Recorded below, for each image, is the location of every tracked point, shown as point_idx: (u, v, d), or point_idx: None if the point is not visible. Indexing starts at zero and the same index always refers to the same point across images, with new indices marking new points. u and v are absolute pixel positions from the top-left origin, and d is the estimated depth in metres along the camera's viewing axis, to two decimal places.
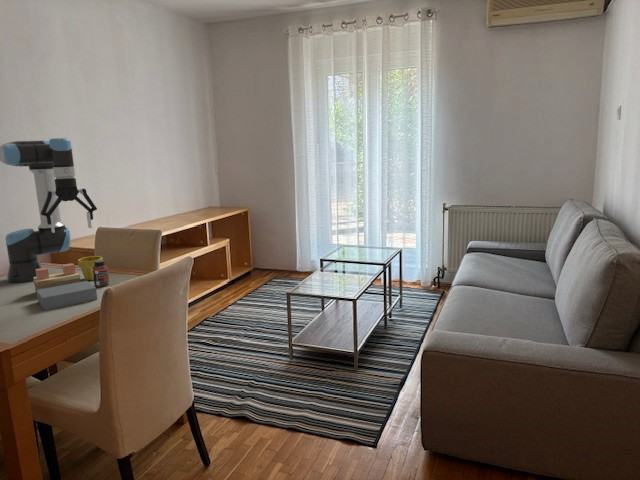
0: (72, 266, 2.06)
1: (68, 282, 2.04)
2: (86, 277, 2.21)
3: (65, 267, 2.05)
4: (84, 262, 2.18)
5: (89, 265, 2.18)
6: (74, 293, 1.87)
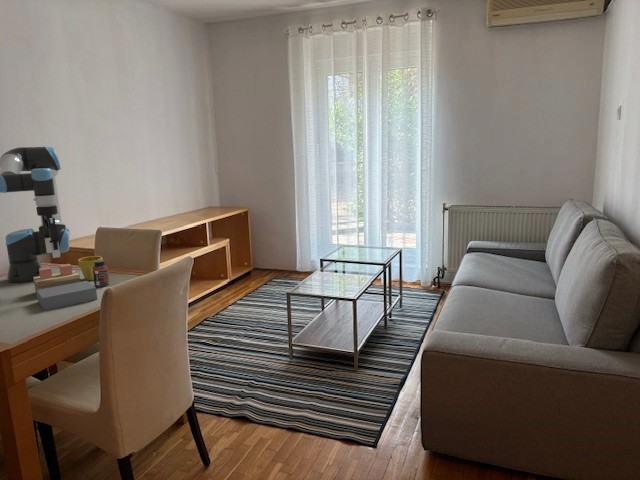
0: (69, 266, 2.06)
1: (68, 282, 2.04)
2: (86, 277, 2.21)
3: (62, 267, 2.04)
4: (84, 262, 2.18)
5: (89, 265, 2.18)
6: (74, 293, 1.87)
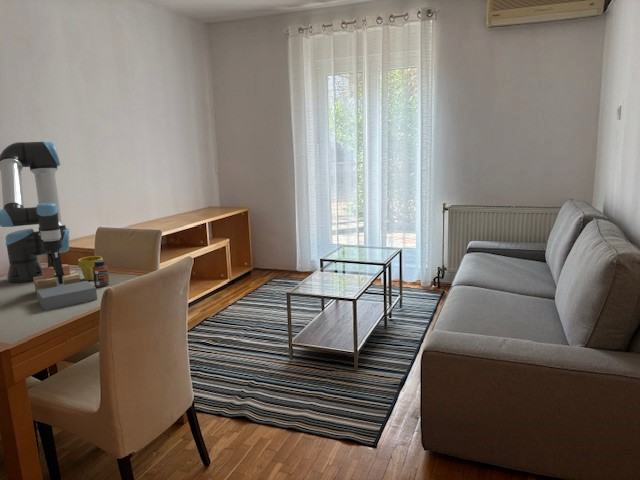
0: (67, 267, 2.05)
1: (68, 282, 2.04)
2: (86, 277, 2.21)
3: None
4: (84, 262, 2.18)
5: (89, 265, 2.18)
6: (74, 293, 1.87)
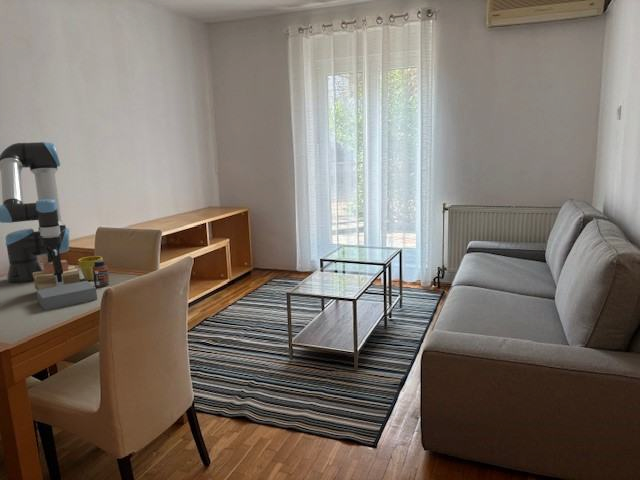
0: (65, 262, 2.05)
1: (67, 278, 2.03)
2: (86, 277, 2.21)
3: None
4: (84, 262, 2.18)
5: (89, 265, 2.18)
6: (74, 293, 1.87)
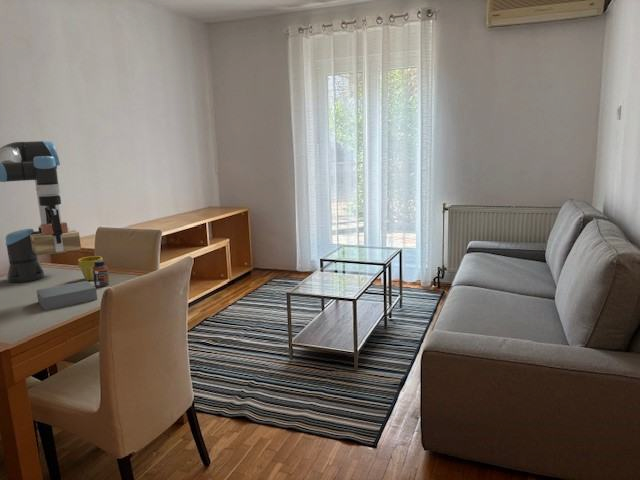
0: (65, 224, 1.93)
1: (67, 240, 1.91)
2: (86, 277, 2.21)
3: None
4: (84, 262, 2.18)
5: (89, 265, 2.18)
6: (74, 293, 1.87)
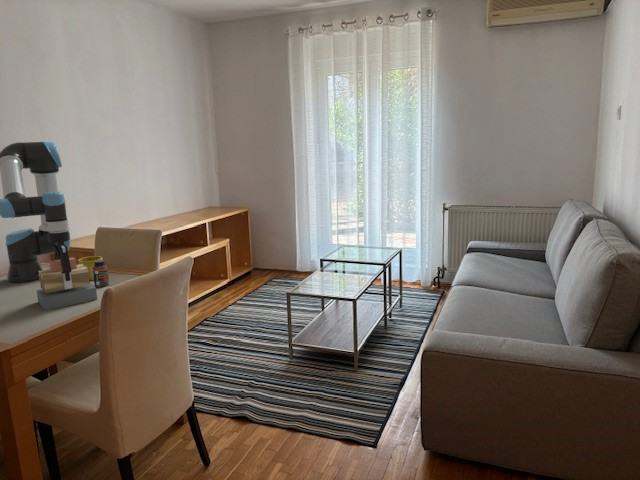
0: (74, 260, 1.90)
1: (76, 277, 1.89)
2: None
3: None
4: (84, 262, 2.18)
5: (89, 265, 2.18)
6: (74, 293, 1.87)
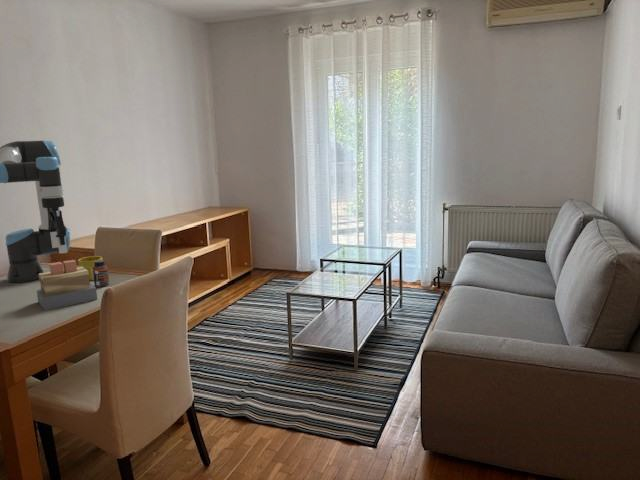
0: (74, 262, 1.90)
1: (76, 279, 1.89)
2: None
3: (66, 264, 1.88)
4: (84, 262, 2.18)
5: (89, 265, 2.18)
6: (74, 293, 1.87)
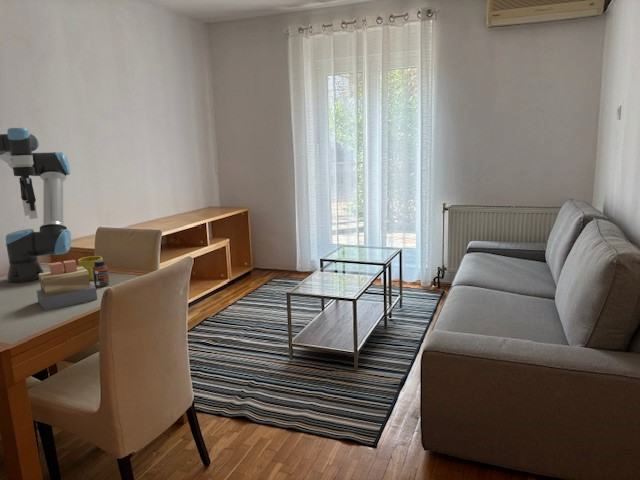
0: (74, 262, 1.90)
1: (76, 279, 1.89)
2: None
3: (66, 264, 1.88)
4: (84, 262, 2.18)
5: (89, 265, 2.18)
6: (74, 293, 1.87)
